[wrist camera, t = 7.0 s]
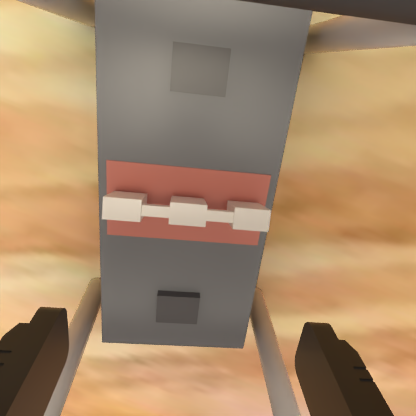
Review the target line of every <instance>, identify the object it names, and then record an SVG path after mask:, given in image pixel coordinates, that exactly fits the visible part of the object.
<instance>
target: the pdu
mask: <svg viewBox="0 0 416 416" xmlns="http://www.w3.org/2000/svg"><path fill="white" fill-rule="evenodd" d="M18 1H20V2H23V3H26V4H29V5H31V6H34V7H37V8H40V9H43V10H45V11H48V12H51V13H54V14H57V15H59V16H62V17H65V18H68V19H70V20H73V21H76V22H79V23H82V24H84V25H87V26H91V27H95V43H96V87H97V132H98V177H99V222H100V267H101V279H100V278H94V279H92V280H91V281H90V282H89V284H88V286H87V288H86V291H85V293H84V295H83V297H82V299H81V302H80V304H79V306H78V308H77V310H76V312H75V315H74V317H73V319H72V321H71V323H70V326H69V328H68V333H69V352H68V357H67V360H66V363H65V366H64V368H63V371H62V373H61V375H60V378H59V380H58V383H57V385H56V387H55V390H54V392H53V394H52V397H51V399H50V402H49V404H48V406H47V409H46V411H45V413H44V416H60V415H61V412H62V409H63V407H64V404H65V401H66V398H67V396H68V393H69V390H70V387H71V385H72V382H73V379H74V377H75V374H76V371H77V368H78V366H79V363H80V360H81V358H82V355H83V352H84V349H85V347H86V344H87V341H88V338H89V336H90V333H91V330H92V328H93V325H94V322H95V319H96V317H97V314H98V311H99V309H100V306H101V311H102V342H106V343H129V344H152V345H175V346H198V347H222V348H243V347H244V342H245V337H246V332H247V327H248V322H249V317H250V319H251V323H252V327H253V331H254V336H255V340H256V344H257V348H258V353H259V357H260V361H261V365H262V369H263V374H264V378H265V382H266V386H267V391H268V395H269V399H270V403H271V408H272V412H273V416H301V414H300V411H299V408H298V405H297V402H296V398H295V395H294V392H293V389H292V386H291V382H290V379H289V376H288V373H287V370H286V367H285V363H284V360H283V357H282V354H281V351H280V347H279V344H278V341H277V338H276V335H275V332H274V328H273V325H272V322H271V319H270V316H269V312H268V309H267V306H266V303H265V300H264V297H263V293H262V291H261V290H260V289H259V288H256V283H257V279H258V274H259V269H260V264H261V259H262V254H263V249H264V245H265V240H266V235H267V232H263V231H249V230H236V229H232V227H231V226H230V225H229V223H225V222H212V221H206V227H197V226H184V225H171V224H169V218H161V217H148V216H144V217H143V219H142V220H141V222H132V221H119V220H106V219H102V204H103V196H105V195H107V194H109V193H111V192H113V191H123V192H135V193H147V204H157V205H169V206H170V201H171V197H172V196H182V197H194V198H204V199H205V201H206V203H207V205H208V206H207V209H218V210H227V201H228V200H230V201H242V202H254V203H260V204H261V205H263V206H264V207H266V208H268V209H269V210H271V211H272V206H273V201H274V196H275V191H276V186H277V181H278V177H279V172H280V167H281V162H282V157H283V152H284V147H285V143H286V138H287V133H288V128H289V123H290V118H291V113H292V109H293V104H294V99H295V94H296V89H297V84H298V79H299V75H300V70H301V65H302V60H303V55H304V54H309V53H322V52H336V51H349V50H362V49H376V48H389V47H403V46H416V25H410V24H403V23H396V22H389V21H381V20H374V19H367V18H360V17H353V16H346V15H343V16H340V17H337V18H333V19H330V20H327V21H323V22H320V23H317V24H314V25H310V21H311V16H312V11H310V10H303V9H296V8H289V7H282V6H274V5H267V4H260V3H253V2H246V1H239V0H18Z"/></svg>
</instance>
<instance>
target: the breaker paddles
mask: <svg viewBox="0 0 416 416" xmlns="http://www.w3.org/2000/svg"><path fill="white" fill-rule="evenodd" d="M207 206H208V205H207V203H206V201H205V199H204V198H194V197H182V196H172V197H171V201H170V206H169V205H157V204H147V193H135V192H123V191H113V192H111V193H109V194H107V195H105V196H103V204H102V219H106V220H119V221H132V222H141V220H142V219H143V217H144V216H148V217H161V218H169V224H171V225H184V226H197V227H206V221H212V222H225V223H229V225H230V226H231V227H232V229H236V230H249V231H263V232H269V224H270V216H271V210H269V209H268V208H266V207H264V206H263V205H261V204H260V203H254V202H242V201H230V200H228V201H227V210H218V209H207Z"/></svg>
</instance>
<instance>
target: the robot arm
mask: <svg viewBox="0 0 416 416" xmlns="http://www.w3.org/2000/svg"><path fill="white" fill-rule="evenodd" d="M68 352H69V333H68V321H67V311H66V309H65V308H51V307H40V308H39V309H38V310H37V312H36V313H35V315H34V317H33V318H32V320H31V321H30V323H19V324H18V325H16V326H15V327H14V328H13V329H11V330H10V331H9V332H7V333H6V334H5V335H4V336H3V337H2V339H1V340H0V416H44V413H45V411H46V409H47V406H48V404H49V402H50V399H51V397H52V394H53V392H54V390H55V387H56V385H57V383H58V380H59V378H60V375H61V373H62V371H63V368H64V366H65V363H66V360H67V357H68ZM295 369H296V374H297V377H298V380H299V383H300V386H301V389H302V392H303V395H304V398H305V401H306V404H307V407H308V410H309V412H310V415H311V416H394V415H393V413H392V412H391V410H390V408H389V406H388V405H387V403H386V401H385V399H384V398H383V396H382V394H381V392H380V391H379V389H378V387H377V385H376V384H375V382H373V378H372V377H371V375H370V373H369V371H368V370H366V366H365V364H364V363H363V361H362V359H361V357H360V356H359V354H358V352H357V351H356V350H354V349H353V348H352V347H351V346H350V345H349V344H348V343H347V342H346V341H345V340H338V338H337V336H336V334H335V332H334V330H333V328H332V327H331V325H330V324H328V323H313V322H306V323H305V325H304V327H303V331H302V334H301V337H300V341H299V344H298V348H297V351H296V355H295Z"/></svg>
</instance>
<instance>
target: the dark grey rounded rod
mask: <svg viewBox="0 0 416 416" xmlns="http://www.w3.org/2000/svg"><path fill="white" fill-rule="evenodd" d="M239 1H246V2H253V3H260V4H267V5H274V6H282V7H289V8H296V9H303V10H310V11H317V12H324V13H332V14H339V15H346V16H353V17H360V18H367V19H374V20H381V21H389V22H396V23H403V24H410V25H416V0H239Z"/></svg>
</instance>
